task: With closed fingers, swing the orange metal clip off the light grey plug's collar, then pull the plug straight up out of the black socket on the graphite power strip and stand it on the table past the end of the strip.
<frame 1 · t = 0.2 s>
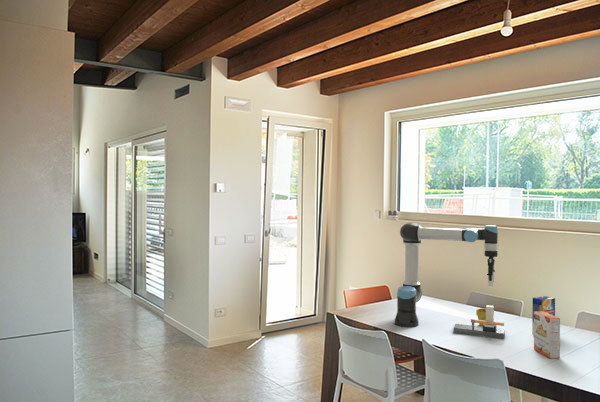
hand: (491, 284, 291), 28 cm above the table, tool pointing down, fingers open, 13 cm apart
cracker box: (546, 354, 244), on the table
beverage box: (543, 335, 279), on the table
plug: (489, 329, 279), point 3 cm above the table, touching power strip
plant pot: (484, 325, 298), on the table
power strip: (478, 333, 281), on the table
clip: (487, 325, 276), point 6 cm above the table, hinge at 0.0°
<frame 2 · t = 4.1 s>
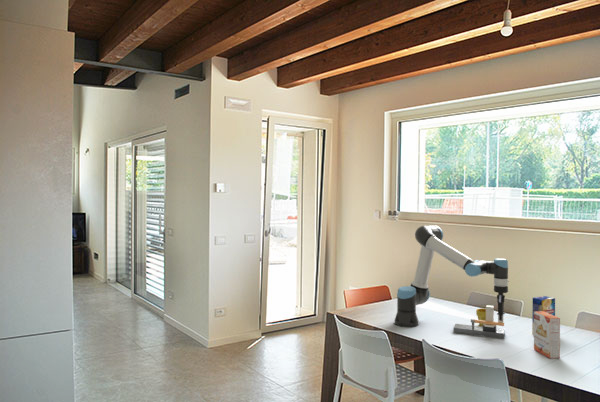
hand: (500, 325, 273), 7 cm above the table, tool pointing down, fingers closed
clip: (487, 325, 276), point 6 cm above the table, hinge at -0.7°, touching gripper
everything else where it was.
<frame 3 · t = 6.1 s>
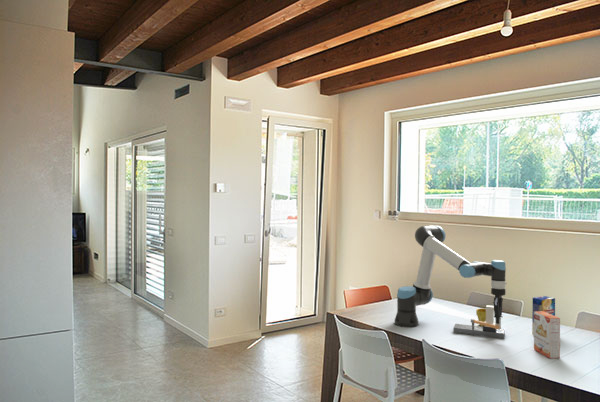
hand: (498, 328, 267), 7 cm above the table, tool pointing down, fingers closed
clip: (484, 327, 272), point 6 cm above the table, hinge at -31.6°, touching gripper
everything else where it was.
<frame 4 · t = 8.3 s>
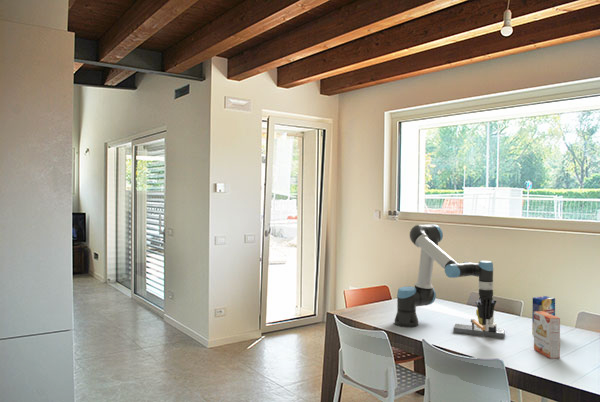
hand: (485, 330, 264), 7 cm above the table, tool pointing down, fingers closed
clip: (477, 327, 271), point 6 cm above the table, hinge at -65.5°, touching gripper
everything else where it was.
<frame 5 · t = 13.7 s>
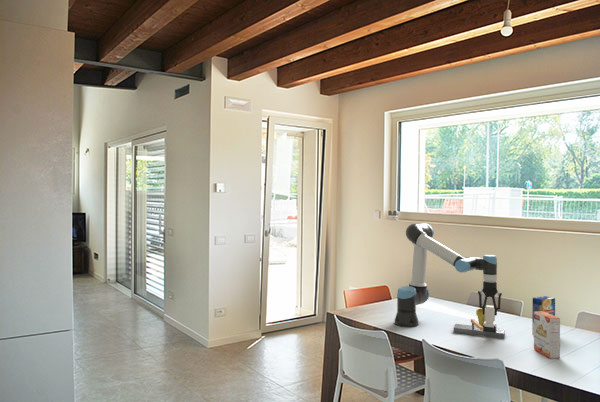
hand: (489, 320, 278), 9 cm above the table, tool pointing down, fingers closed on plug, 4 cm apart
plug: (489, 329, 279), point 3 cm above the table, touching gripper, power strip
clip: (477, 327, 271), point 6 cm above the table, hinge at -68.6°
everything else where it was.
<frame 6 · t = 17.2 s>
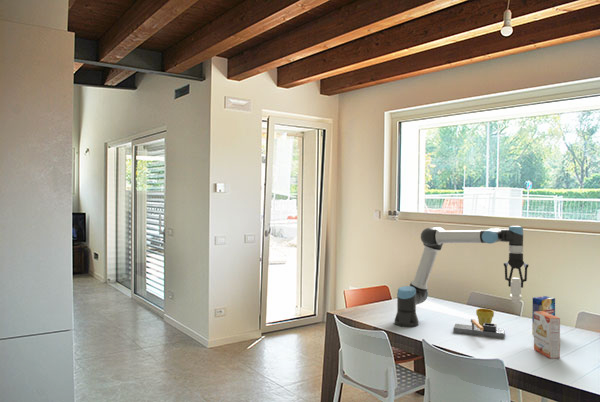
hand: (515, 292, 272), 26 cm above the table, tool pointing down, fingers closed on plug, 4 cm apart
plug: (515, 302, 272), point 21 cm above the table, touching gripper
everything else where it was.
when the fingers open (7 cm above the table, at t = 20.9 s): plug drops 2 cm, on the table.
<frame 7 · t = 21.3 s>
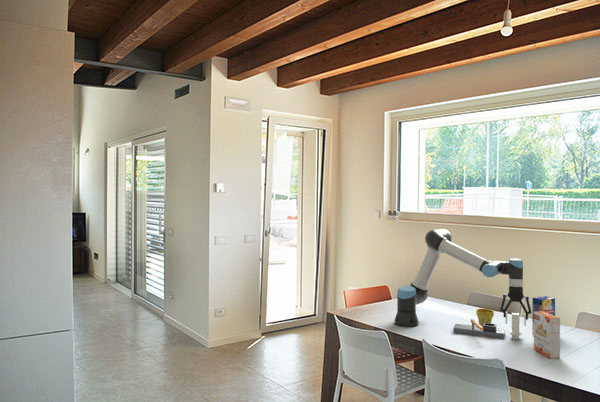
hand: (515, 324, 272), 8 cm above the table, tool pointing down, fingers open, 9 cm apart
plug: (515, 337, 272), on the table
everything else where it was.
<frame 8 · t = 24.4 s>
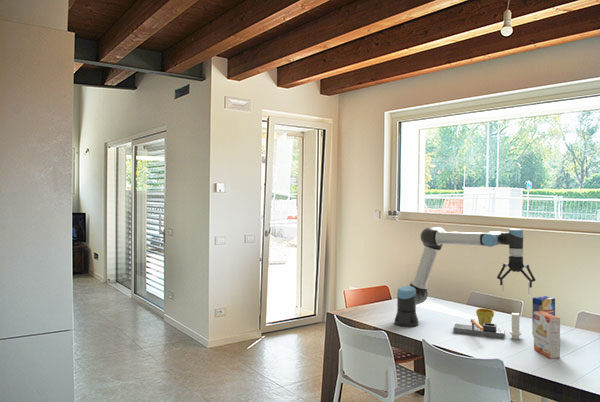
hand: (515, 292, 272), 27 cm above the table, tool pointing down, fingers open, 13 cm apart
nothing on the table moved.
at the end: clip at -69° (first picture: +0°); plug inside the target area (0.0 cm from its centre), on the table; plug tilted 0° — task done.
